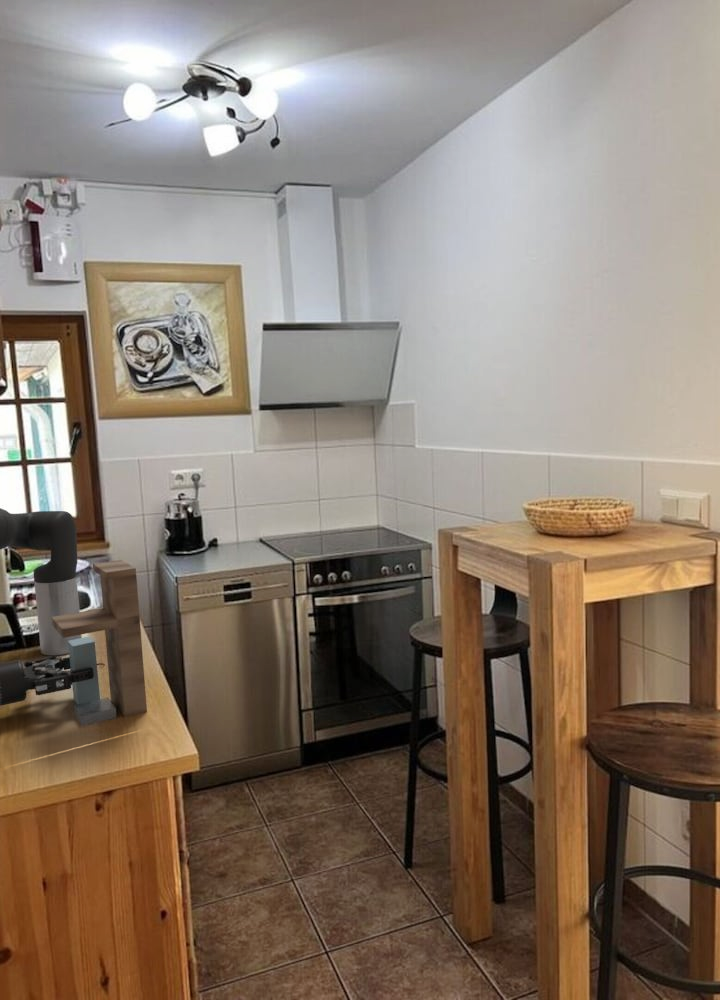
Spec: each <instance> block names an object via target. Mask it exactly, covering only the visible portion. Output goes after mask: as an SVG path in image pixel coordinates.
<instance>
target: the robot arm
mask: <svg viewBox="0 0 720 1000" xmlns="http://www.w3.org/2000/svg"><path fill="white" fill-rule="evenodd" d="M77 539H78V535H77V526H76V521H75V519H74V517H73V515H72V514H71V513H70V512H68V511H63V510H42V511H41V510H39V511H38V510H37V511H31V512H23V513H10V512H9V511H7V510H6V509H3V508H0V550H4V549H5V548H7V547H15V548H21V549H27V550H33V551H40V552H41V551H44V552H45V551H47V552H48V551H50V559H49V561H48V562H47V563H45V564H42V565H39V566H37V567H35V569H34V570H33V582H34V583H33V584H34V593H35V602H36V603H35V604H36V614H37V621H38V622H37V623H38V624H37V625H38V634H39V645H40V653H41V654H42V655H45V656H47V657H41V658H37V659H33V660H27V661H25V662H23V663H22V661H21V660H20V659H15V660H10V661H4V662H0V707H2V706H6V705H11V704H14V703H19V702H24V701H25V700H26V698H27V691H30V690H31V691H32V690H35V696H41V695H47V694H51V693H55V692H61V691H62V692H63V691H66V690H70V689H72V685H73V683H75V682H80V681H84V680H89V679H92V678H93V677H94V672H93V668H92V667H85V668H80V669H76V670H72V671H70V669H71V667H70V657H69V656H67V657H59V655H60V656H61V655H67V654H69V647H68V641H70V640H75V639H79V638H83V637H82V635H83V634H81V635H76V636H70V637H65V638H63V637H62V636H61V635H60V634H59V632H58V631H57V630H56V629H55V628H54V627H53V625H52V618H51V617H54V616H60V615H66V614H71V613H77V612H81V611H80V603H79V601H80V600H79V592H78V591H79V590H78V581H77V566H78V540H77ZM57 656H58V657H57Z"/></svg>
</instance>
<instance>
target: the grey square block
mask: <svg viewBox="0 0 720 1000" xmlns="http://www.w3.org/2000/svg"><path fill="white" fill-rule="evenodd" d="M74 715H75V717H76V719H77V720H78V722H79V724H80V725H81V726H82V727H83V726H86V725H90V724H95V723H99V722H103V721H107V720H110V719H111V720H112V719H115V718H118V717H117V707H116V706H115V705H114V703H113V702H112V701H111V699H110V698H109V697H104V698H100V700H95V701H91V702H87V703H82V704H75V705H74Z"/></svg>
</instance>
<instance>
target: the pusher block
mask: <svg viewBox="0 0 720 1000" xmlns="http://www.w3.org/2000/svg"><path fill="white" fill-rule="evenodd" d="M95 644H96V642H95V640H94V639H92V637H90V636H85V637H82V638H79V639H75V640H70V641H68V647H69V653H68V657H70V667H71V671H72V670H76V669H80V668H85V667H92V668H93V672H94V677H93V678H92V679H89V680H84V681H80V682H75V683H73V685H71V688H72V694H73V700H74V701H75V703H76V705H78V704H82V703H87V702H91V701H95V700H100V699H101V694H100V684H99V673H98V665H97V664H98V663H97V653H96V645H95Z"/></svg>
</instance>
